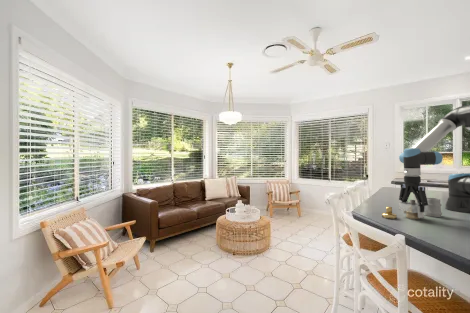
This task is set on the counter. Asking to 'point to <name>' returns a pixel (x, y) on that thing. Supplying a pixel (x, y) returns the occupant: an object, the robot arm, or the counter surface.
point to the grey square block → (410, 207)
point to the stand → (411, 215)
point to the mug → (433, 207)
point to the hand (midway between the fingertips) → (412, 215)
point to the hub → (389, 214)
